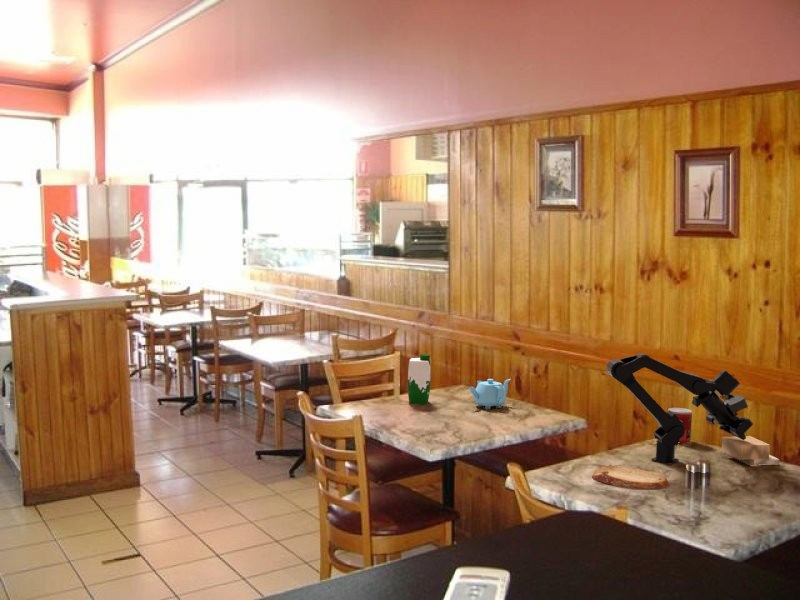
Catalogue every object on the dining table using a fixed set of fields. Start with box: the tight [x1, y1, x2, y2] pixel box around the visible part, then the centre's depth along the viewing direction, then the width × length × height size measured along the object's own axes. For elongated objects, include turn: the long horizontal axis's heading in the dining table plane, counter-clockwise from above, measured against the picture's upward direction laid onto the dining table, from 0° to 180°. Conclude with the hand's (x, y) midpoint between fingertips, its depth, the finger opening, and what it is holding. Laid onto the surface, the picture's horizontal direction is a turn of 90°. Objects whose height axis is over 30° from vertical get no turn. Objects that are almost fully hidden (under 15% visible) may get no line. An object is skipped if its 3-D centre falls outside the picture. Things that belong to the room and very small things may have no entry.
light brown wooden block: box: [721, 435, 771, 460], centre depth 278 cm, size 4×11×10 cm
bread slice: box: [591, 464, 670, 489], centre depth 254 cm, size 18×18×4 cm
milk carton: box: [407, 353, 431, 405], centre depth 355 cm, size 9×9×20 cm
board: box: [727, 453, 780, 466], centre depth 279 cm, size 10×13×2 cm
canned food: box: [667, 407, 693, 444], centre depth 302 cm, size 8×8×11 cm
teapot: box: [468, 378, 511, 410], centre depth 351 cm, size 15×14×11 cm
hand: (744, 438), depth 278 cm, fingers closed
